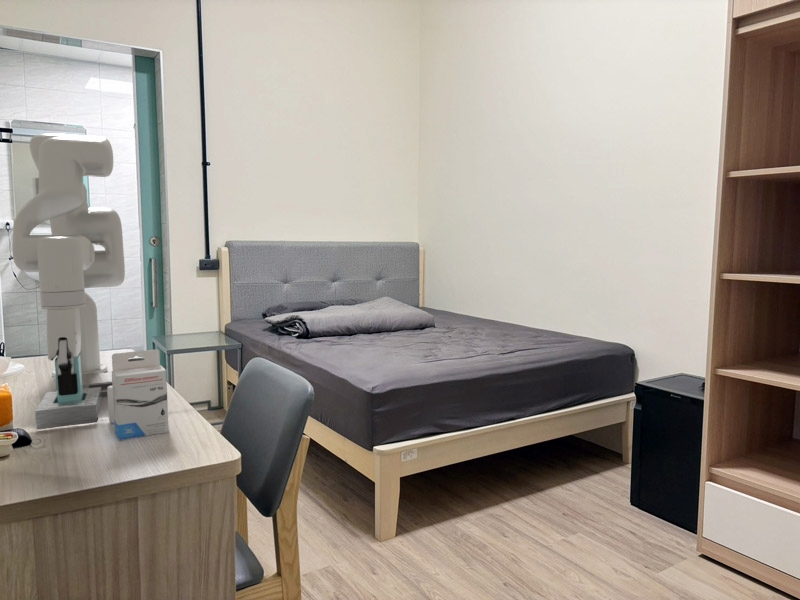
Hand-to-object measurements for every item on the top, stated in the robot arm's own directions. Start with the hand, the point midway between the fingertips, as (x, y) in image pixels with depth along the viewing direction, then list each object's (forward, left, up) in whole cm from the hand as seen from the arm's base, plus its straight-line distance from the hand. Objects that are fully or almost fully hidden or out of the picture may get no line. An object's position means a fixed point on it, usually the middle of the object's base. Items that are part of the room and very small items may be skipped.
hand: (69, 390), depth 116 cm
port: (0, 0, -5) cm, 5 cm away
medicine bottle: (+9, +12, -5) cm, 16 cm away
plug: (0, 0, -3) cm, 3 cm away
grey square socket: (-13, +5, -5) cm, 15 cm away
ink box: (+17, +13, -5) cm, 22 cm away
